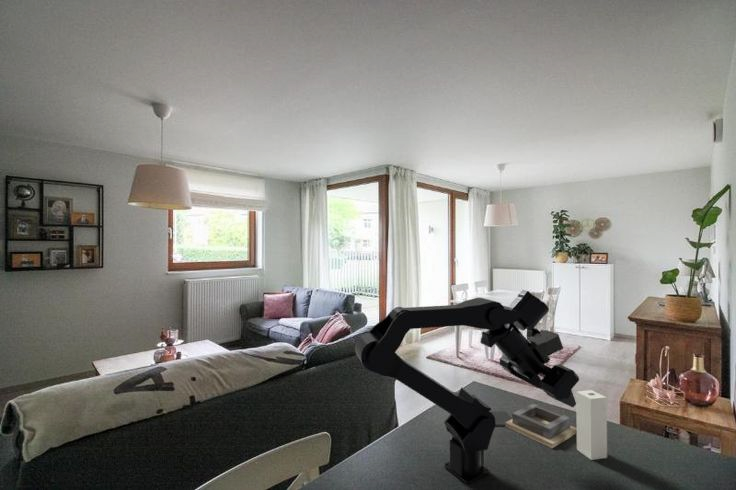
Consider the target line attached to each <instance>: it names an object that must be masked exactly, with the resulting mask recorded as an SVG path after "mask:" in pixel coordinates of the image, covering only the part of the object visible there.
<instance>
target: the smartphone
mask: <svg viewBox="0 0 736 490" xmlns="http://www.w3.org/2000/svg"><path fill="white" fill-rule="evenodd" d="M490 412H491V413H492V414H493V415H494V416H495V422H496V423H495V427H505V422H507V421H509V420H511V419H512V415H511V414H510V413H509V412H508V411H505V410H490Z"/></svg>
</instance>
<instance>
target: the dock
mask: <svg viewBox="0 0 736 490" xmlns="http://www.w3.org/2000/svg"><path fill="white" fill-rule="evenodd" d="M511 417H512V419H511V420H509V421H507V422H505V426H504V427H505V428H508V429H509V430H512V431H514V432H516V433H518V434H520V435H523V436H525V437H527V438H529V439H531V440H532V441H535V442H538V443H539V444H542V445H544V446H546V447H548V448H550V449H554V448H555V447H557V446H559V445H560V444H561V443H564V442H565V441H566V440H568V439H570V438H571V437H573V436H574V435H577V426H576V427H575V426H573V425H571V417H570V416H566V415H565V414H562V413H559V412H557V411H554V410H552V409H549V408H545V407H543V406H541V405H538V404H535V403H531V404H529V405H527V406H525V407H523V408H520V409H519V410H517V411H514V412H512V415H511Z"/></svg>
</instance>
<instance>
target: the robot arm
mask: <svg viewBox="0 0 736 490" xmlns="http://www.w3.org/2000/svg"><path fill="white" fill-rule="evenodd" d="M549 311H550V309H549V306H548V305H547V304H546V303H545V302H544V301H542V300H541V299H539V298H538V297H536V296H535V295H534V294H532V293H531V292H530V291H529V290H524V289H522V290H521V291H519V293H518V294H517V296H516V298H514V299H513V301H512V302H511V303H509V305H508V306H506V305H503V304H502V303H501V302H499V301H496V300H492V299H487V298H484V297H475V298H471V299H468V300H464V301H462V302H460V303H456V304H448V305H432V306H431V305H430V306H429V305H427V306H415V307H412V306H411V307H402V306H397V307H394V308H393V309H391V311H390V312H389V313H388V314H387V315H386V316H385V317H384V318H383V319H381V320H380V321H379V322H378V323H376V324H375V325H374V326H372V328H371V329H370V330H369V331H368V332H367V333H364V334H362V335H360V337H359V338H357V340H356V342H355V346H354V351H355V354H356V356H357V358H358V359H359V360H360V362H361V364H362V365H363V367H364V369H366V370H367V371H369V372H371V373H374V374H377V375H379V376H381V377H384V378H390V379H394V380H396V381H398V382H400V383H401V384H403V385H405V386H406V387H407V388H409V389H411V390H413V391H414V392H416V393H417V394H419V395H420V396H421V397H424V398H425V399H426V400H428V401H430V402H431V403H433V404H434V405H436V406H438V407H439V408H441V409H442V410H444V411H446V412H447V413H448V414H450V415H449V416H448V417H447V418H446V419H445V420H444V422H443V423H444V426H445V429H446V431H447V432H448V433H449V434H450V435H451V438H450V439H449V461H448V462H445V463H444V468H445V469H446V470H448V471H449V472H450V473H452V474H453V475H454V476H456V477H457V478H458V479H460V480H461V481H462V482H464V483H465V484H470V483H473V482H475V481H476V480H478V479H481V478H483V477H485V476H487V475H489V474H490V469H488V468H487V467H485V466H484V465H485V464H484V463H485V461H484V459H485V458H484V456H485V451H487V450H489V446H490V442H491V440H492V436H493V433H494V430H495V428H496V426H495V423H496V422H495V416H494V415H493V414H492V413H491V412H490V411H492V407H490V406H489V405H488V404H486V403H485V402H484V401H482V400H481V399H480V398H478V397H477V396H476V395H474V394H472V393H470V392H468V390H466V389H464V387H460V389H459V392H455V391H453V390H451V389H449V388H447V387H446V386H444V385H443V384H441V383H440V382H438V381H436V380H435V379H433V377H431V376H429V375H427V374H426V373H424V372H423V371H421V370H420V369H419V368H417V367H415V366H414V365H412V364H411V363H409V362H407V360H405V359H403V358H402V357H401V356H400V355H398V354H397V353H396V352H397V351H398V349H399V348H400V346H401V345H402V342H403V340H404V338H405V337H406V334H408V332H409V331H410V330H416V329H429V328H430V329H431V328H442V327H458V326H459V327H461V326H464V327H470V328H475V329H481V330H486V331H482V332H481V338H480V344H482V345H484V346H486V347H488V348H490V349H491V348H493V347H494V345H495V346H496V347H497V349H498V350H499V351H500V352H501V353H502V355H501V357H500V358H499V365H500V366H501V367H502V369H503V370H504V371H506V372H508V374H511V375H513V376H514V377H515V378H516V377H517V378H518V379H520V380H522V381H524V382H526V383H528V384H529V385H532V386H534V387H535V388H537V389H540V390H541V391H543V392H544V393H545V394H546V395H547V396H549V397H550V398H552V399H554V400H556V401H558V402H561V403H562V404H564V405H567V406H569V407H571V408H574V407H575V406H576V399H575V397H574V393H573V390H572V389H573V388H574V387H575V386H576V384H578V383H579V381H580V376H579V375H578V374H577V373H576V371H575V370H573V369H571V368H569V367H567V366H565V365H562V364H554V365H553V366H552V367H550V366H548V365H546V364H548V363H549V361H550V360H551V358H550V357H549V356H552V355H553V354H555V353H557V352H559V351H562V350H563V349H564V346H563V345H564V344H563V343H562V341H561V338H560V335H559V334H558V333H557V332H554V331H550V330H547V329H546V330H544V329H540V330H539V329H538V328H536V326H537V325H538V324H539V323H540V321H541V320H543V318H545V316H546V315H547V314H548V313H549ZM525 330H526V337H525V336H524V334H523V333H522V332H521V331H525ZM540 376H541V377H542V378H541V377H540Z"/></svg>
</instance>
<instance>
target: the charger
mask: <svg viewBox="0 0 736 490" xmlns="http://www.w3.org/2000/svg"><path fill="white" fill-rule="evenodd" d="M575 395H576V399H575V402H576V405H575V406H576V409H575V410H576V412H575V413H576V414H575V415H576V428H577V433H576V450H577V451H578V452H580V453H581V454H582V455H584V456H585V457H586V458H588V459H589V460H590V461H593V460H600V459H607V458H608V415H607V412H608V411H607V410H608V406H607V405H608V403H607V402H608V401H607V399H608V398H607V397H606V396H605V395H603V394H601V393H600V392H599V393H598V392H596V391H595V390H592V389H589V390H578V391H576V393H575Z"/></svg>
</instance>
